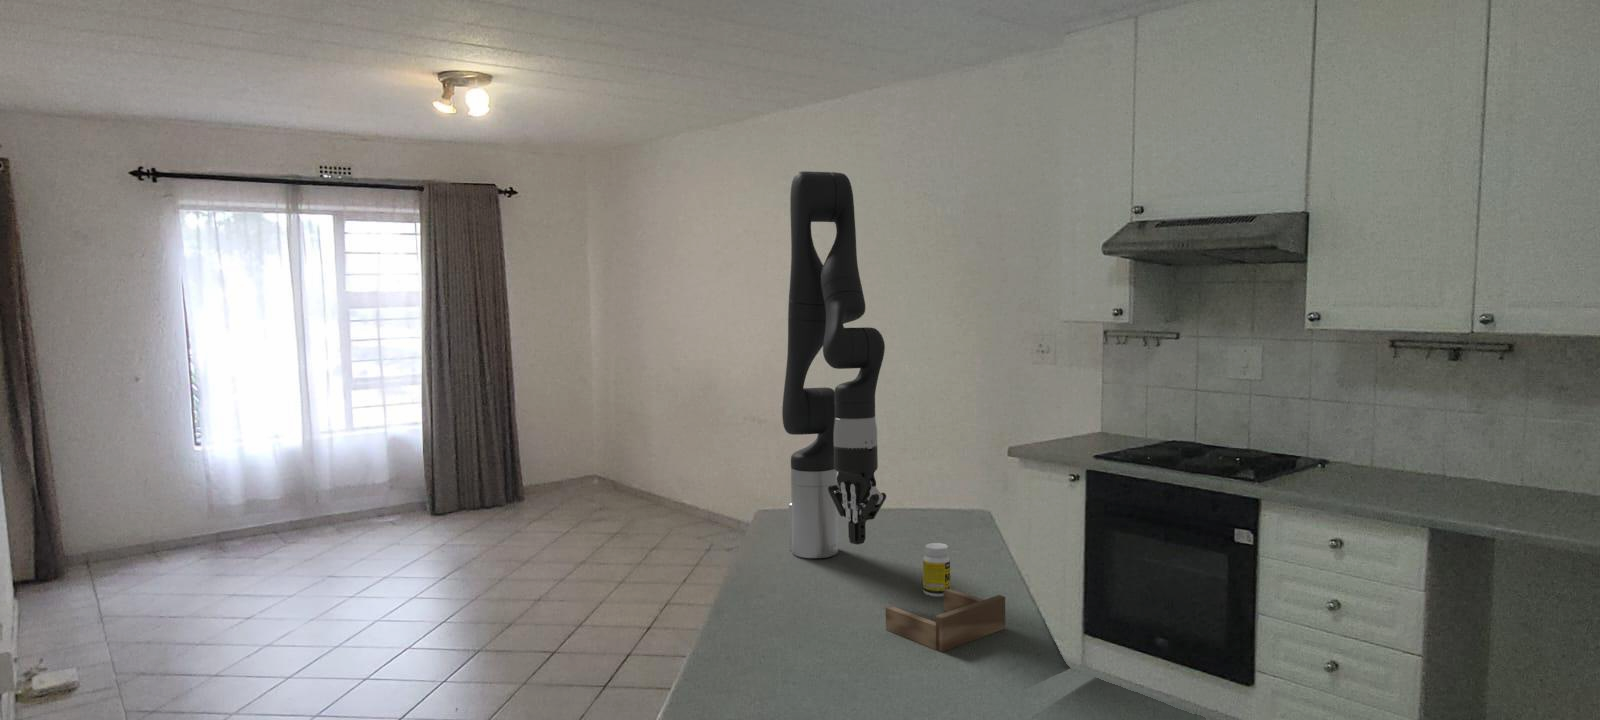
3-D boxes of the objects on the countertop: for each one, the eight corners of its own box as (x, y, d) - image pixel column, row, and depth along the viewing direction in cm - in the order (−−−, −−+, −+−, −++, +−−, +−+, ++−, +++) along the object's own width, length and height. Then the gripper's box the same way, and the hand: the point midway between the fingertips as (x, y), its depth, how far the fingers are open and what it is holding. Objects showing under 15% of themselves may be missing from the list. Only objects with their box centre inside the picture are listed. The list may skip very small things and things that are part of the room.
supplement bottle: (950, 598, 146) (949, 550, 145) (922, 596, 147) (922, 548, 146) (950, 589, 150) (950, 542, 150) (923, 588, 151) (923, 541, 151)
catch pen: (885, 629, 131) (885, 598, 131) (948, 609, 140) (948, 579, 140) (942, 652, 122) (942, 618, 122) (1005, 628, 131) (1005, 596, 131)
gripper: (814, 442, 149) (816, 540, 149) (865, 448, 138) (867, 554, 139) (846, 438, 153) (848, 533, 154) (898, 444, 143) (899, 546, 143)
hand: (857, 543), depth 146 cm, fingers closed
